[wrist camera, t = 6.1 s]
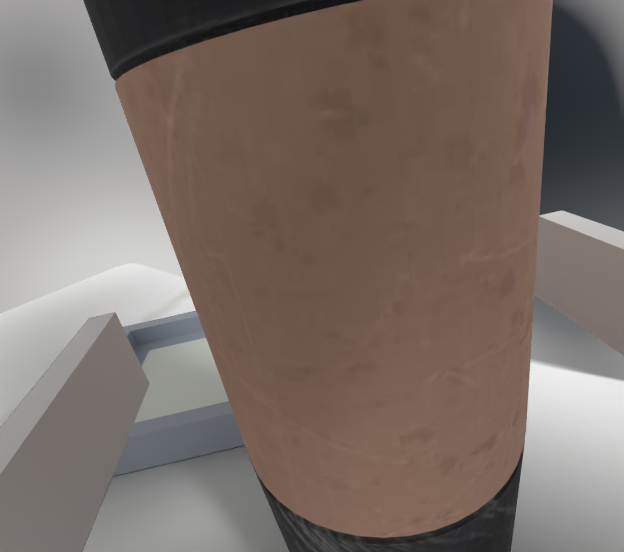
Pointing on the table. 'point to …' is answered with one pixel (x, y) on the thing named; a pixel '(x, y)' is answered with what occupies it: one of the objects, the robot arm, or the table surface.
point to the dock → (177, 396)
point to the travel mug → (354, 244)
